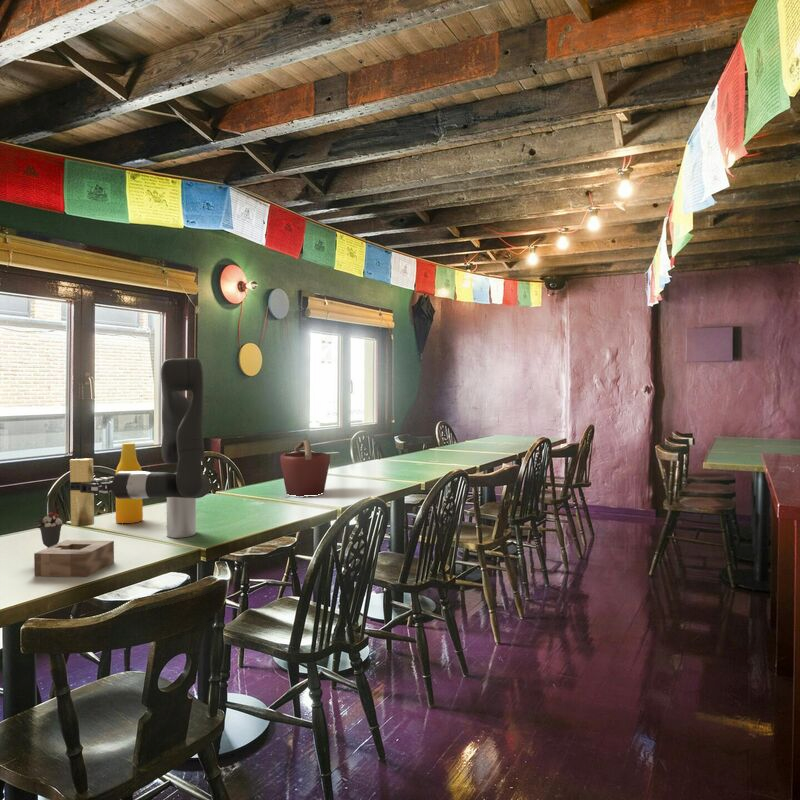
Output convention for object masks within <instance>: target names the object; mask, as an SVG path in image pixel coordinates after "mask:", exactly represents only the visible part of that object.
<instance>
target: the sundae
mask: <svg viewBox="0 0 800 800" xmlns="http://www.w3.org/2000/svg"><path fill="white" fill-rule="evenodd" d="M58 509H59V506H55V508H54V510H53V511H51V512H49V514H48V515H45V516H44V518H43V519H42V521H41V519H38V523H39V524H38V525H36V526H37V529H39V530H40V536H41V540H42V544H43V545H44V546H45V547H47V548H48V547H51V546H53V545H56V544H58V543H60V536H61V529H62V526H63V525H64V522H62V520H61V519H60V517H59V514H57V511H58ZM54 512H55V514H54Z"/></svg>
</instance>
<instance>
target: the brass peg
mask: <svg viewBox="0 0 800 800" xmlns="http://www.w3.org/2000/svg"><path fill="white" fill-rule="evenodd" d="M92 480H94V458H75V459H73V458H71V459H69V483H70V482H83V481H85V482H91V481H92ZM69 491H70V494H69V495H70V497H69V498H70V525H71V526H76V527H90V526H93V525H95V496H94V494H95V493H81V492H80V490H69Z"/></svg>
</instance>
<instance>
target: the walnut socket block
mask: <svg viewBox="0 0 800 800" xmlns="http://www.w3.org/2000/svg"><path fill="white" fill-rule="evenodd" d="M33 558H34V559H33V561H34V565H33V566H34V569H33V570H34V577H63V576H64V577H66V576H68V578H69V577H70V578H71V577H72V578H74V577H76V578H86V576H87V577H88V576H90V575H92V574H94V573H95V572H97V570H98V571H100V570H101V569H103V568H105V567H107V566H108V565H110V563H111V564H112V562H113V563H114V562H115V541H114V540H93V539H92V540H89V539H88V540H86V539H84V540H83V539H80V540H79V539H78V540H77V539H72V540H71V539H70V540H69V539H67V540H63V541H61V542H58V543H57V544H56V545H53V546H51V547H47V548H43V549H42V550H39V551H36V552H34V555H33ZM99 569H100V570H99ZM66 578H67V577H66Z"/></svg>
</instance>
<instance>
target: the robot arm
mask: <svg viewBox="0 0 800 800" xmlns="http://www.w3.org/2000/svg"><path fill="white" fill-rule="evenodd" d="M160 379H161V380H160V382H161V391H162V410H161V415H162V416H161V417H162V418H161V420H162V421H161V422H162V441H161V452H160V454H161V458H162V460H163V461H162V462H164V463H165V464H167V465H176V472H174V473H173V472H166V471H145V470H142V471H119V472H118V473H116V472H115V474H116V475H115V474H114V476H107V477H106V476H102V477H99V478H97V477H95V478H93V480H92V481H91V482H85V481H83V482H70V481H69V482H68V490H69V491H70V490H80V492H81V493H94V494H95V495H97V494H99V493H102V494H109V493H110V492H111V493H112V494H113V496H114V497H115V499H116V498H118V499H142V500H143V499H161V498H162V499H166V536H167V537H168V538H173V539H177V538H179V539H181V538H189V537H193V536H195V535H196V534H197V507H196V506H197V505H196V504H197V503H196V502H197V499H201V498H204V497H205V496H206V495H207V494H209V492H210V490H211V488H212V483H211V480H210V477H208V476H207V475H206V474H204V473H202V462H203V461H204V459H205V445H204V443H205V442H204V434H203V432H204V431H203V417H204V413H203V412H204V371H203V365H202V363H201V361H200V359H199V358H195V357H187V358H186V357H185V358H184V357H183V358H182V357H181V358H180V357H179V358H169V359H165V360H164V361H163V362H162V363H161V367H160ZM188 391H190V392H191V399H188V398H187V397H186V396H185V395H184V394H182V392H188Z"/></svg>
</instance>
